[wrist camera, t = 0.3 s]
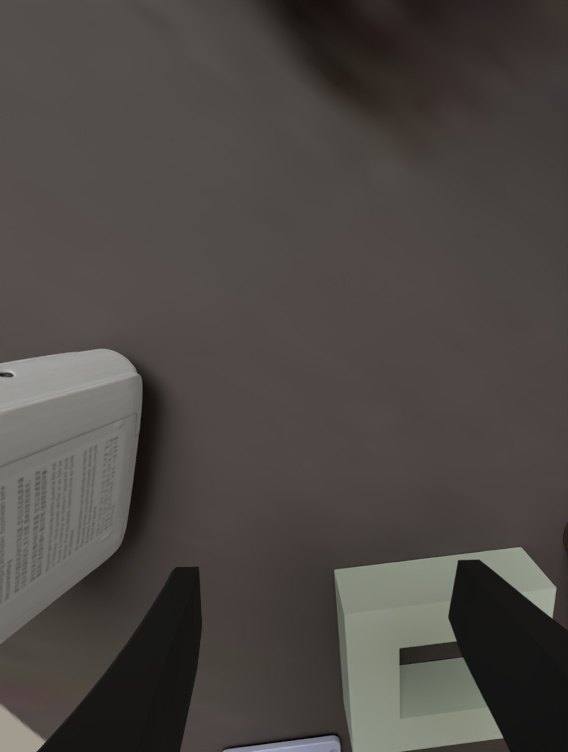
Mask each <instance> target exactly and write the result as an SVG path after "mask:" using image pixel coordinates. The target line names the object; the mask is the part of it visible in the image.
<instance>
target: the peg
mask: <svg viewBox="0 0 568 752" xmlns="http://www.w3.org/2000/svg"><path fill="white" fill-rule="evenodd" d="M563 539H564V544H565V547H566V549H567V550H568V524H567V526H566V528H565V530H564V536H563Z"/></svg>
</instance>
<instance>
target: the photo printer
mask: <svg viewBox="0 0 568 752" xmlns="http://www.w3.org/2000/svg"><path fill="white" fill-rule="evenodd" d="M141 410H142V378H141V375H139V374H137V370H136V368H135V367H134V365H133V364H132V363H131V362H130V361H129V360H128V359H127V358H125V357H124V356H122V355H121V354H119V353H117V352H115V351H112V350H109V349H96V350H89V351H83V352H70V353H62V354H56V355H49V356H42V357H37V358H30V359H24V360H18V361H12V362H6V363H1V364H0V644H1V643H2V642H3V641H5V640H6V639H7V638H8V637H10V636H11V635H12V634H13V633H15V632H16V631H17V630H18V629H20V628H21V627H22V626H24V625H25V624H26V623H27V622H28V621H30V620H31V619H32V618H34V617H35V616H36V615H37V614H39V613H40V612H41V611H43V610H44V609H45V608H46V607H48V606H49V605H50V604H51V603H52V602H54V601H55V600H56V599H58V598H59V597H60V596H61V595H63V594H64V593H65V592H66V591H68V590H69V589H70V588H71V587H73V586H74V585H75V584H77V583H78V582H79V581H80V580H82V579H83V578H84V577H85V576H87V575H88V574H89V573H90V572H92V571H93V570H94V569H96V568H97V567H98V566H100V565H101V564H102V563H103V562H104V561H106V560H107V559H108V558H109V557H110V556H111V555H112V554H113V553H114V552H115V551H116V550H117V549H118V548H119V546H120V545H121V543H122V540H123V537H124V534H125V530H126V526H127V521H128V514H129V507H130V501H131V493H132V486H133V479H134V471H135V463H136V454H137V446H138V437H139V431H140V420H141Z"/></svg>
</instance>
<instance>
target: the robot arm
mask: <svg viewBox="0 0 568 752" xmlns="http://www.w3.org/2000/svg"><path fill="white" fill-rule="evenodd" d="M448 619H449V621H450V624H451V627H452V630H453V632H454V635H455V638H456V641H457V643H458V646H459V648H460V651H461V653H462V656H463V658H464V660H465V662H466V665H467V667H468V669H469V671H470V673H471V675H472V677H473V679H474V681H475V683H476V685H477V687H478V689H479V691H480V693H481V695H482V697H483V699H484V701H485V703H486V705H487V706H488V708H489V710H490V712H491V714H492V716H493V718H494V720H495V722H496V724H497V726H498V728H499V730H500V732H501V734H502V736H503V738H504V740H505V742H506V744H507V746H508V748H509V750H510V752H568V630H566V629H565V628H564V627H562V626H561V625H560V624H559V623H557V622H556V621H555V620H553V619H552V618H551V617H550V616H548V615H547V614H546V613H545V612H543V611H542V610H541V609H540V608H538V607H537V606H536V605H535V604H533V603H532V602H531V601H530V600H529V599H527V598H526V597H525V596H524V595H522V594H521V593H520V592H519V591H518V590H516V589H515V588H514V587H513V586H512V585H510V584H509V583H508V582H507V581H505V580H504V579H503V578H502V577H501V576H499V575H498V574H497V573H496V572H495V571H493V570H492V569H491V568H490V567H488V566H487V565H486V564H485V563H483V562H482V561H481V560H479V559H478V560H458V564H457V569H456V575H455V580H454V586H453V592H452V597H451V603H450V608H449V614H448ZM201 630H202V616H201V598H200V579H199V567H176V568H175V569H174V570H173V571H172V572H171V574H170V576H169V578H168V580H167V581H166V583H165V585H164V587H163V588H162V590H161V592H160V593H159V595H158V597H157V598H156V600H155V602H154V603H153V605H152V606H151V608H150V610H149V611H148V613H147V614H146V616H145V617H144V619H143V620H142V622H141V623H140V625H139V626H138V628H137V629H136V631H135V632H134V634H133V635H132V637H131V638H130V640H129V641H128V642H127V644H126V645H125V646H124V648H123V649H122V651H121V652H120V653H119V655H118V656H117V657H116V659H115V660H114V661H113V663H112V664H111V665H110V667H109V668H108V669H107V671H106V672H105V673H104V675H103V676H102V677H101V678H100V680H99V681H98V682H97V683H96V685H95V686H94V687H93V688H92V690H91V691H90V692H89V693H88V695H87V696H86V697H85V698H84V699H83V701H82V702H81V703H80V704H79V705H78V706H77V708H76V709H75V710H74V711H73V712H72V714H71V715H70V716H69V717H68V718H67V719H66V720H65V721H64V723H63V724H62V725H61V726H60V727H59V728H58V729H57V730H56V731H55V732H54V734H53V735H52V736H51V737H50V738H49V739H48V740H47V741H46V742H45V743H44V745H43V746H42V747H41V748H40V749H39V750H38V751H37V752H180V748H181V744H182V739H183V734H184V729H185V724H186V720H187V715H188V710H189V705H190V701H191V696H192V691H193V686H194V681H195V676H196V671H197V665H198V657H199V648H200V639H201ZM223 752H341V747H340V740H339V738H338V737H337V736H334V735H331V736H324V737H316V738H308V739H301V740H293V741H286V742H278V743H270V744H263V745H255V746H247V747H240V748H232V749H226V750H224V751H223Z"/></svg>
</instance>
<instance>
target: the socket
mask: <svg viewBox="0 0 568 752" xmlns="http://www.w3.org/2000/svg"><path fill="white" fill-rule="evenodd" d="M478 559H479V560H481V561H482V562H483V563H485V564H486V565H487V566H488V567H490V568H491V569H492V570H493V571H495V572H496V573H497V574H498V575H499V576H501V577H502V578H503V579H504V580H505V581H507V582H508V583H509V584H510V585H512V586H513V587H514V588H515V589H516V590H518V591H519V592H520V593H521V594H522V595H524V596H525V597H526V598H527V599H529V600H530V601H531V602H532V603H533V604H535V605H536V606H537V607H538V608H540V609H541V610H542V611H543V612H545V613H546V614H547V615H548V616H550V617H551V618H552V617H553V609H554V602H555V595H556V587H555V586H554V585H553V583H552V582H551V581H550V580H549V579H548V578H547V576H546V575H545V574H544V573H543V572H542V571H541V570H540V568H539V567H538V566H537V565H536V564H535V563H534V561H533V560H532V559H531V558H530V557H529V556H528V555H527V553H526V552H525V551H524V550H523V549H522V548H521V547H517V548H509V549H500V550H492V551H484V552H476V553H468V554H459V555H451V556H443V557H435V558H426V559H418V560H410V561H402V562H393V563H385V564H377V565H369V566H360V567H352V568H344V569H336V570H334V577H335V591H336V604H337V618H338V631H339V645H340V658H341V672H342V686H343V699H344V707H345V713H346V718H347V724H348V729H349V735H350V740H351V746H352V751H353V752H402V751H409V750H417V749H424V748H432V747H439V746H447V745H454V744H462V743H470V742H477V741H485V740H492V739H500V738H503V736H502V734H501V732H500V730H499V728H498V726H497V724H496V722H495V720H494V718H493V716H492V714H491V712H490V710H489V708H488V706H487V705H486V703H485V701H484V699H483V697H482V695H481V693H480V691H479V689H478V687H477V685H476V683H475V681H474V679H473V677H472V675H471V673H470V671H469V669H468V667H467V665H466V662H465V660H464V658H463V657H462V658H455V659H447V660H439V661H431V662H423V663H415V664H407V665H400V666H399V648H406V647H414V646H422V645H430V644H438V643H446V642H454V641H456V638H455V635H454V632H453V630H452V627H451V624H450V621H449V619H448V614H449V608H450V603H451V597H452V592H453V586H454V580H455V575H456V569H457V564H458V560H478Z"/></svg>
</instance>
